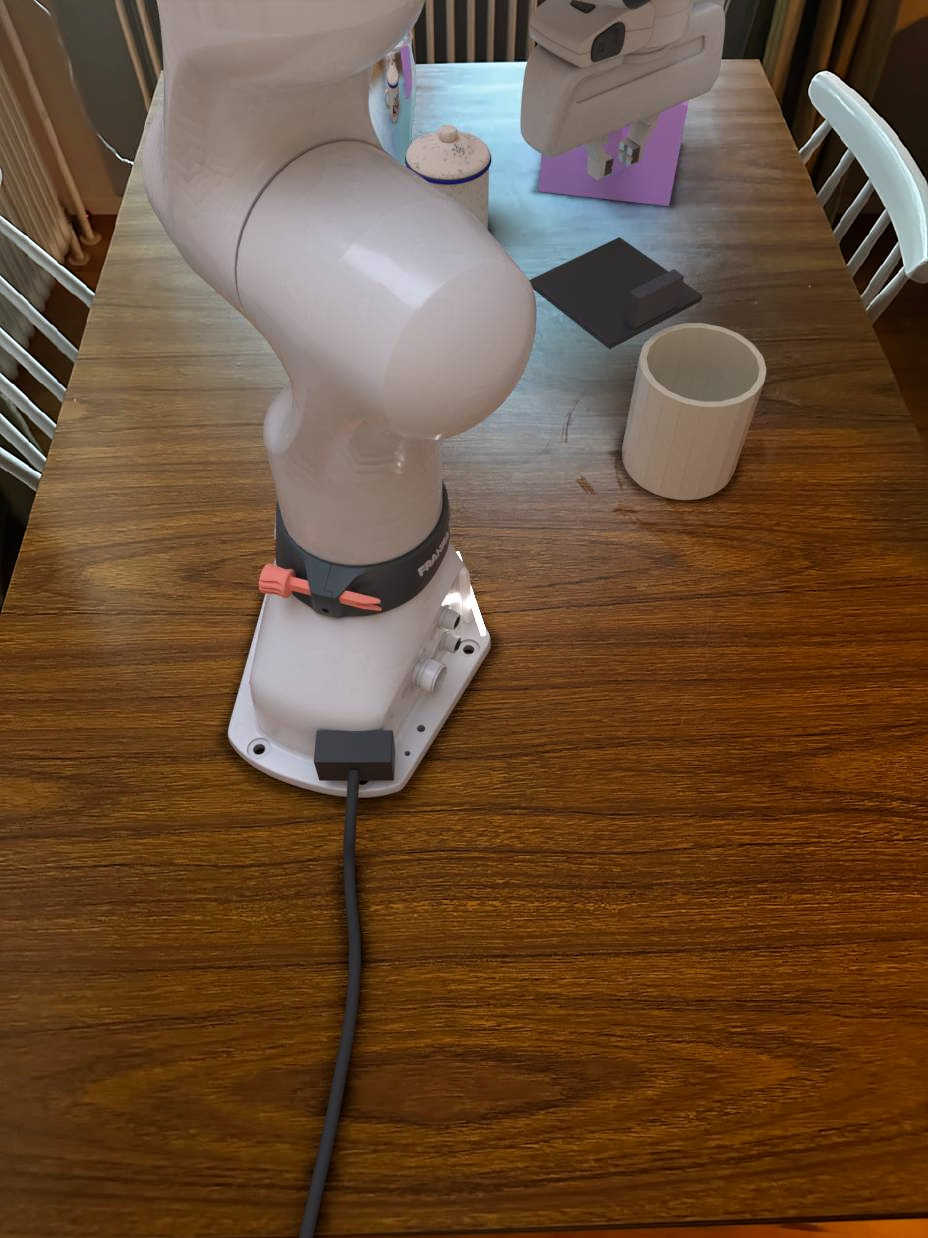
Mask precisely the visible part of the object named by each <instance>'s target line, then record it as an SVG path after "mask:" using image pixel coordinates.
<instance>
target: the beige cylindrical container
mask: <svg viewBox="0 0 928 1238" xmlns="http://www.w3.org/2000/svg"><path fill="white" fill-rule="evenodd" d="M636 367H637V369H636V372H635V373H636V374H635V378H634V384H633V389H632V394H631V399H630V405H629V410H628V415H627V420H626V426H625V429H624V430H625V432H624V436H623V441H622V446H621V459H622V464H623V466H624V468H625V469H624V470H625V471H626V472H627V474H628V475H629V476H630V478H631V479H632V480H633V481H634V482H635V483H636V484H637V485H639V486H640V487H641V488H643V489H644V490H646V491H648V492H650V493H652V494H654V495H656V496H660V497H662V498H666V499H671V500H677V501H693V500H700V499H704V498H708V497H710V496H713V495H714V494H717V493H718V492H720V491H721V490H722V489H724V488H725V487H726V486H727V485H728V483H729V482H730V481H731V479H732V477H733V475H734V474H735V472H736V468H737V465H738V463H739V459H740V456H741V453H742V450H743V447H744V444H745V441H746V439H747V435H748V432H749V430H750V427H751V424H752V420H753V418H754V415H755V411H756V407H757V406H758V403H759V400H760V396H761V393H762V390H763V388H764V385H765V381H766V376H767V371H768V370H767V365H766V362H765V359H764V356H763V355H762V353H761V352H760V350H759V349H758V348H757V347H756V345H755V344H754V343H753V342H751V341H750V340H749V339H747V338H746V337H744V336H743V335H742V334H740V333H739V332H735V331H734V330H731V329H729V328H726V327H724V326H719V325H714V324H710V323H703V322H685V323H679V324H676V325H671V326H667V327H664V328H662V329H661V330H659V331H657V332H655V333H653V334H652V335H651V336H650V337H649V338H648V339H647V340H646V341H645V343H644V344H643V345H642V347H641V350H640V354H639V357H638V361H637V366H636Z"/></svg>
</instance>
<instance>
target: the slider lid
mask: <svg viewBox="0 0 928 1238" xmlns="http://www.w3.org/2000/svg"><path fill="white" fill-rule="evenodd" d="M684 278H685V275H684V274H682V273H680V272H679V271H677V269H676V268H675V269H674V268H673V269H671V270H670V271H669V270H667V269H666V268H664V267H663V266H661V265H660V264H658V263H657V262H656V261H654V260H653V259H652V258H650V257H648V256H647V255H646V254H644V253H643V252H641V251H640V250H639V249H638V248H636V247H635V246H634V245H632V244H630V243H629V242H627V241H626V240H625V239H623V238H622V237H621V236H620V237H616V238H613V239H612V240H610V241H607V242H606V243H603V244H602V245H599V246H598V247H597V246H596V247H595V248H593V249H591V250H589V251H586V252H585V253H583V254H581V255H578V256H577V257H574V258H572V259H570V260H568V261H566V262H564V263H562V264H560V265H558V266H556V267H554V268H552V269H549V270H547V271H545V272H543V273H541V274H538V275H536V276H535V277H533V278H531V279H529V281H530V283H531V285H532V287H533V290H534V292H536V293H537V294H538V295H540V296H541V297H542V298H544V299H545V300H546V301H547V302H548V303H550V304H551V305H552V306H553V307H555V308H556V309H557V310H559V311H560V312H561V313H562V314H564V315H565V316H566V317H567V318H569V319H570V320H571V321H572V322H574V323H575V324H576V325H578V326H579V327H580V328H582V329H583V331H585V332H587V333H588V334H589V335H590V336H591V337H592V338H594V339H595V340H596V341H598V342H599V343H601V344H602V346H603V345H604V347H605V348H607V349H608V350H612V349H614V348H615V347H617V346H619V345H621V344H623V343H626V341H628V340H631V339H633V338H634V337H636V336H638V335H640V334H642V333H644V332H645V331H648V330H650V329H652V328H653V327H655V326H657V325H658V324H661V323H663V322H664V321H666V320H668V319H670V318H672V317H674V316H676V315H678V314H680V313H682V312H683V311H685V310H687V309H689V308H691V307H693V306H695V305H697V304H698V303H701V302H702V299H703V294H701V293H700V292H698V291H697V290H695V289H694V288H693V287H691V286H690V285H688V284H687V283H686V282H684Z"/></svg>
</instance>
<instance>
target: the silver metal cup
mask: <svg viewBox="0 0 928 1238" xmlns="http://www.w3.org/2000/svg"><path fill="white" fill-rule="evenodd" d="M417 82H418V81H417V64H416V55H415V45H414V34H413V32H412V30H410V31H409V33H408V34H407V35H406V36H405V37H404V38H403V39H402V40H401V41H400V43H399V44H398V45H397V46H396V47H395V48H394V49H393V50H391V51H390V52H389V53H388V54H387V55H386V56H384V57H383V58H382V59H381V60H379V61H378V62H377V63H375V64H373V69H372V74H371V80H370V91H369V111H370V116H371V121H372V125H373V127H374V130H375V133H376V135H377V137H378V139H379V141H380V143H381V145H382V147H383V149H384V150H385V151H386V152H387V153H389V154H390V155H391V156H392V157H393V158H394V159H396V160H397V161H399V162H400V163H401V164H403V165H406V164H405V156H406V152H407V150H408V148H409V146H410V145H411V144H412V143H413V141H412V140H413V136H412V135H413V124H414V118H415V110H416V102H417V89H418V87H417Z"/></svg>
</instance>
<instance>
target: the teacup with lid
mask: <svg viewBox="0 0 928 1238" xmlns="http://www.w3.org/2000/svg"><path fill="white" fill-rule="evenodd" d="M405 164H406V165H404V166H406V167H407V168H409V169H410V170H412V171H413V172H415V173H416V174H417V175H419V176H420V177H422V178H423V179H425V180H426V181H428V182H429V183H430V184H432V185H433V186H435V187H436V188H438V189H439V190H441V191H442V192H444V193H445V194H446V195H448V196H449V197H451V198H452V199H454V200H455V201H457V202H458V203H460V204H461V205H462V206H464V207H465V208H467V209H468V210H469V211H470V212H472V213H473V215H474V216H475V217H476V218H477V219H478V220H479V221H480V222H481V223H482V225H483V226H484V227H485V228H486V229H487V230H488V231H489V196H490V195H489V194H490V193H489V192H490V191H489V190H490V189H489V188H490V167H491V165H492V153H491V151H490V148H489V147H488V144H486V143H485V142H484V140H482V139H481V138H479V136H476V135H473V134H471V133H469V132H465V131H461V130H460V131H459V130H458V129H457V127H455V125H453V124H444V125H441V126H440V127H439V128H438V130H437V131H432V132H429V133H426V134H423V135H421V136H419V137H418V138H416V139H414V140H413V141H412V144H411V145H410V146H409V148H408V150H407V152H406V156H405Z"/></svg>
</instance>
